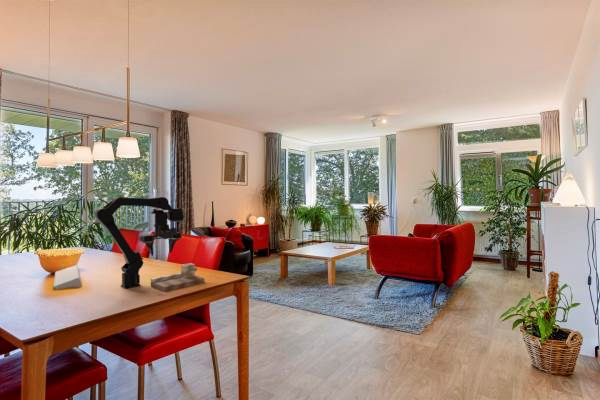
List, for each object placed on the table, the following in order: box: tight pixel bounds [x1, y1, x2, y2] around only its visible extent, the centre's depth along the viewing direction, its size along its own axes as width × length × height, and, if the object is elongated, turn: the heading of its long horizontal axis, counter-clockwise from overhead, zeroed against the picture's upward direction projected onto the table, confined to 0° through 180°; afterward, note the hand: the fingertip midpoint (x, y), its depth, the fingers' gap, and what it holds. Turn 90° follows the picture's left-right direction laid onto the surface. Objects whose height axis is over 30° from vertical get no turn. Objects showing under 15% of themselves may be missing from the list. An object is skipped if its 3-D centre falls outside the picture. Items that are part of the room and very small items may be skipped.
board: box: [150, 272, 205, 293], centre depth 158 cm, size 20×13×4 cm, turn 139°
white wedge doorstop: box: [53, 264, 83, 291], centre depth 167 cm, size 34×5×10 cm
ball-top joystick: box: [180, 262, 198, 278], centre depth 162 cm, size 5×9×6 cm, turn 49°
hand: (161, 254), depth 164 cm, fingers open, 9 cm apart
